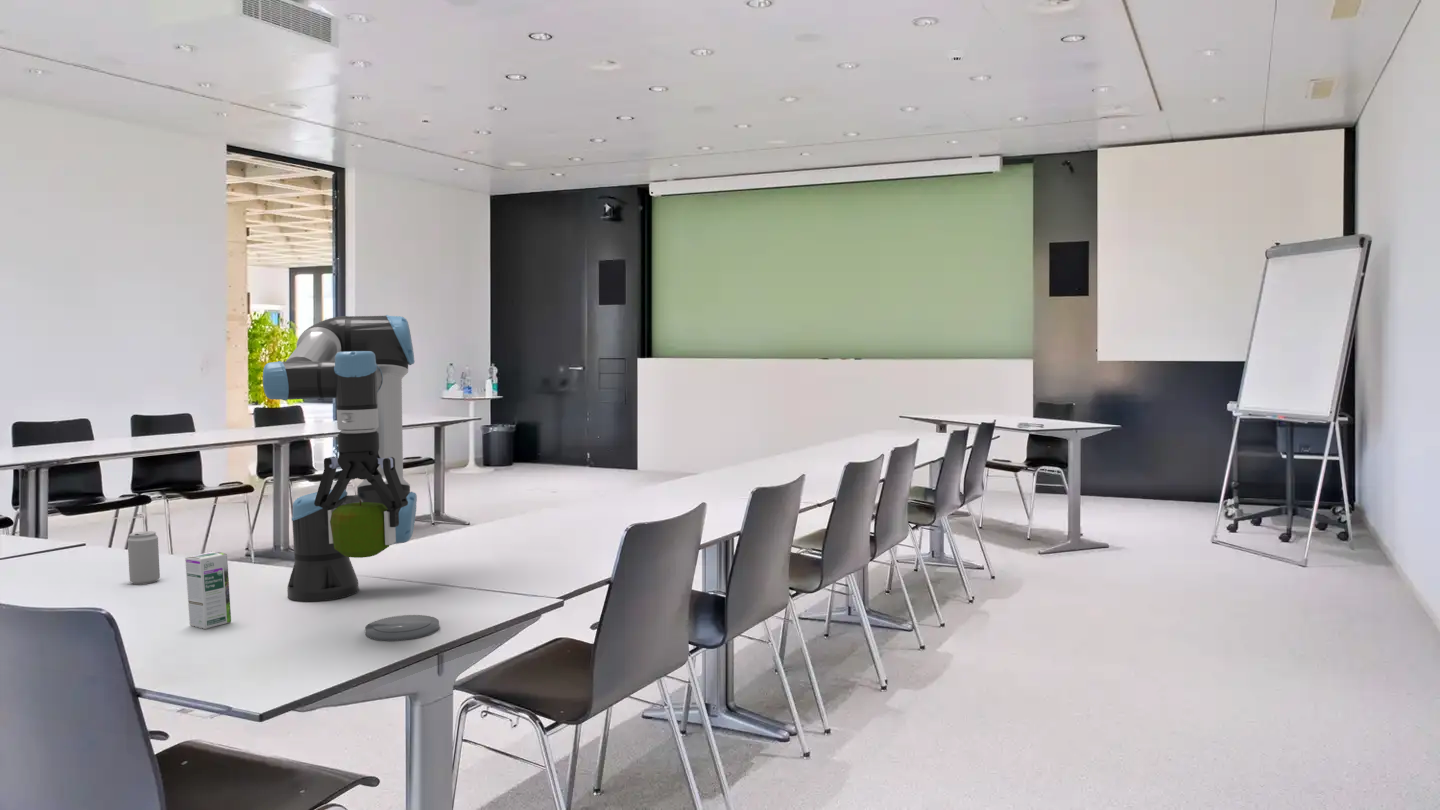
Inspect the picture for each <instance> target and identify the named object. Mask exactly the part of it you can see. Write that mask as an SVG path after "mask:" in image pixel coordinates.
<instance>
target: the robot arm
mask: <svg viewBox="0 0 1440 810" xmlns="http://www.w3.org/2000/svg"><path fill="white" fill-rule="evenodd" d="M412 341H413V340H412V334H411V330H410V325H409V322H408V320H407V318H405V317H404V316H399V315H396V316H395V315H388V314H386V315H359V316H358V315H355V316H349V315H343V316H342V315H341V316H340V315H339V316H335V317H330V318H327V319H324V320H321V321H319V322H317V323H314V324H312V325H311V326H309V327H308V328H307V329H305V330H304V331H303V332H302V333H301V334H300V335H299V337H298V339H297V341H296V348H295V349H294V350H293V352H292V353H291V354H290V356H289V357H288V358H287V359H285V360H286V361H281V360H279V361H273V362H268V363H266V364H265V365H264V367H263V371H262V385H263V391H264V394H265V397H267V398H268V399H269V400H279V401H281V400H283V401H287V400H288V401H289V400H290V401H291V400H312V399H336V423H337V430H338V431H340V432H338V434H337V449H338V452H339V455H338V457H336V456H330V457H325V458H323V471H322V472H323V473H322V476H321V479H320V482H319V486H318V487H317V488H318V489H317V491H316V492H311V493H308V494H304V495H302V496H299V497H297V498H295V500H294V501H293V503H292V517H291V521H292V534H293V535H292V536H293V537H292V539H293V549H294V550H293V553H294V556H293V557H294V564H293V567H292V570H291V574H290V577H289V581H288V583H287V588H286V589H287V590H286V591H287V598H288V599H289V600H292V601H298V602H320V601H321V602H323V601H330V600H338V599H341V598H346V597H349V596H352V595H354V594H356V593H358V592H359V580H358V576H357V574H356V571H355V569H354V566H353V564H352V561H351V559H350V558H351V557H346V556H344V555H343V554H341V553H340V552H338V551H337V550H336V549H334V543H333V537H332V531H331V525H330V520H331V515H332V512H333V511H334V510H335V509H336V508H337V507H339V506H340V505H345V504H349V503H358V502H360V499H361V502H373V503H381V504H383V505H385V506H386V507H387V510H386V511H384V526H385V545H389V546H392V545H395V544H396V545H397V544H403V543H404V544H405V543H407V542H409V541H410V540H411V538H412V537H413V534H414V528H415V524H416V523H415V522H416V514H417V502H418V498H417V497H418V495H417V493H416V492H414V491H411V484H409V483H408V482H407V481H406V480H405V478H404V457H403V456H404V454H403V451H404V449H403V448H404V447H403V445H404V444H403V390H402V389H403V387H402V385H403V383H402V381H403V380H402V379H403V378H404V377H405V376H406V375H407V374H408V373H409V366H412V365H414V364H415V361H416V360H415V355H414V353H415V352H414V348H413V342H412ZM338 467H339V468H340V469H341V471H340V473H339V475H338V477H337V481H336V482H335V484H334V486H333V487H332V485H333V483H334V479H335V476H336V473H337V468H338ZM356 479H358V480H362V482H360V483H359V484H358V485H357V487H356V488H357V491H356V494H355V495H354V494H353V495H351V494H350V495H348V492H347V490H346V488H347V486H348V485H349V483H350V482H351V481H352V480H356Z"/></svg>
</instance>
